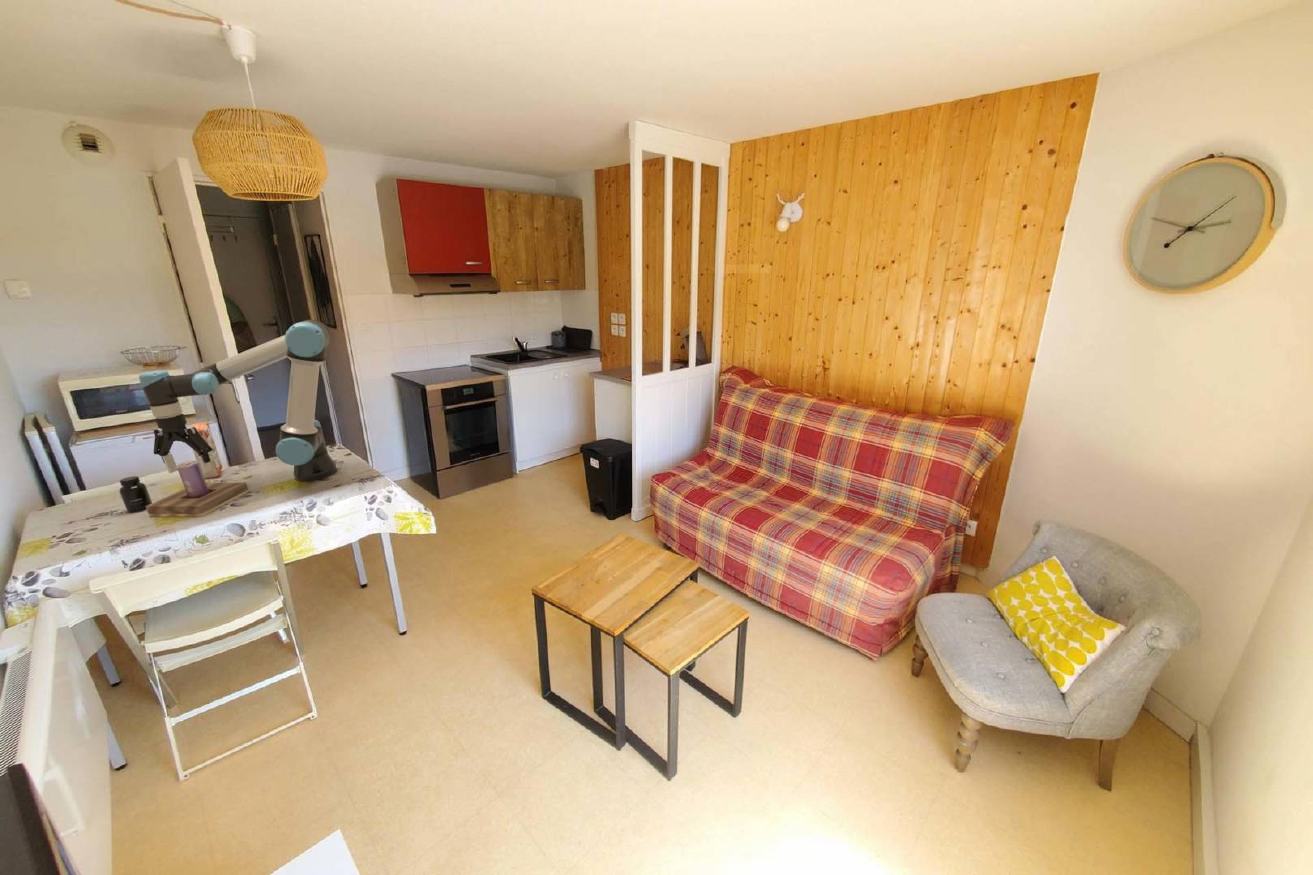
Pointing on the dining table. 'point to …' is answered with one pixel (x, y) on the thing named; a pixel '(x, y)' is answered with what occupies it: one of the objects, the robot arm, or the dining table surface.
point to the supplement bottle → (134, 494)
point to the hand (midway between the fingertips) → (191, 471)
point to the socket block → (197, 501)
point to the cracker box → (213, 455)
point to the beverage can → (193, 479)
